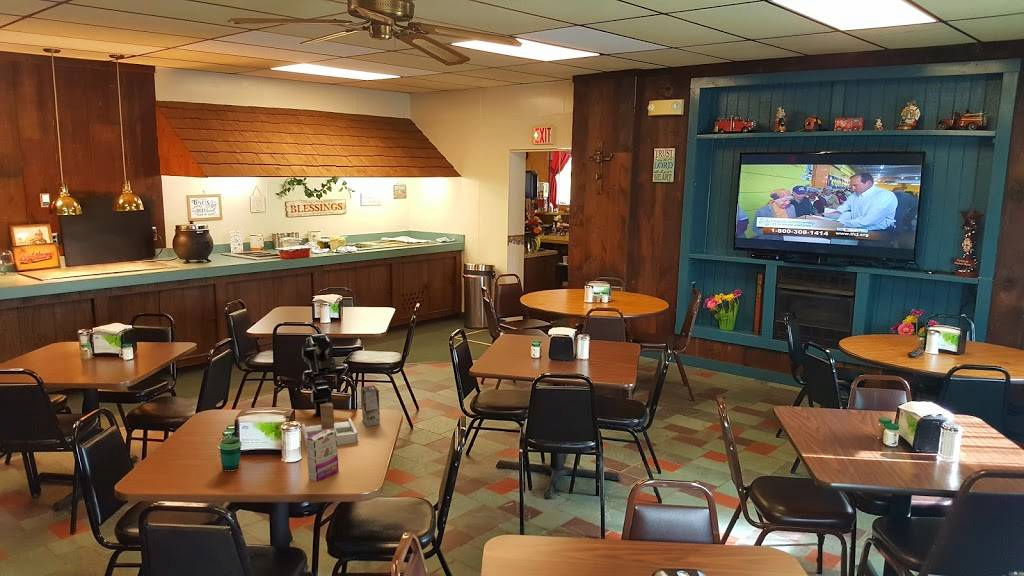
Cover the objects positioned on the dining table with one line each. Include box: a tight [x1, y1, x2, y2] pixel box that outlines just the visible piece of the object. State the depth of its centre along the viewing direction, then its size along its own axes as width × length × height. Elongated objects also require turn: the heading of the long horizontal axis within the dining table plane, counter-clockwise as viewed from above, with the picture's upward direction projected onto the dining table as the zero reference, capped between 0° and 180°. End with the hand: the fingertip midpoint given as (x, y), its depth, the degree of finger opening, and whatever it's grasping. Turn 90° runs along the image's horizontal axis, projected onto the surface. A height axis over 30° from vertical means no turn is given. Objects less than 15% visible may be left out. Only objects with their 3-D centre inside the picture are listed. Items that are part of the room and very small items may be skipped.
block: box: [320, 402, 335, 429], centre depth 318 cm, size 5×5×10 cm
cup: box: [218, 436, 243, 471], centre depth 279 cm, size 8×8×12 cm
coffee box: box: [360, 385, 381, 427], centre depth 330 cm, size 9×6×16 cm
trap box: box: [301, 417, 359, 446], centre depth 312 cm, size 21×21×4 cm
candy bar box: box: [305, 429, 340, 483], centre depth 272 cm, size 11×5×16 cm, turn 148°
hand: (327, 391), depth 326 cm, fingers open, 9 cm apart
